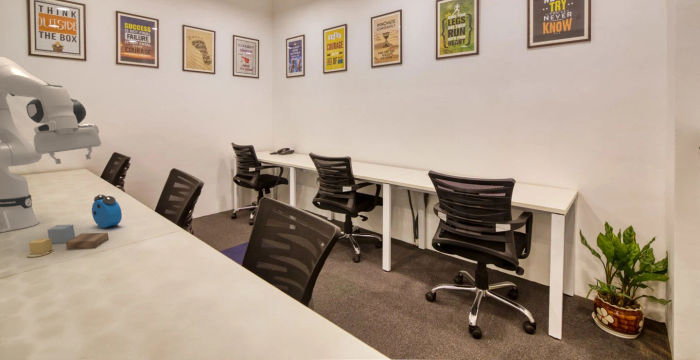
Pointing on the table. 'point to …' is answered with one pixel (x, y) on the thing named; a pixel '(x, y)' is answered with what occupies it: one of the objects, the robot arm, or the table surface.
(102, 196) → the alarm clock
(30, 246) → the mustard cube
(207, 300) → the table surface
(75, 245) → the walnut base
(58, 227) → the slate cube
